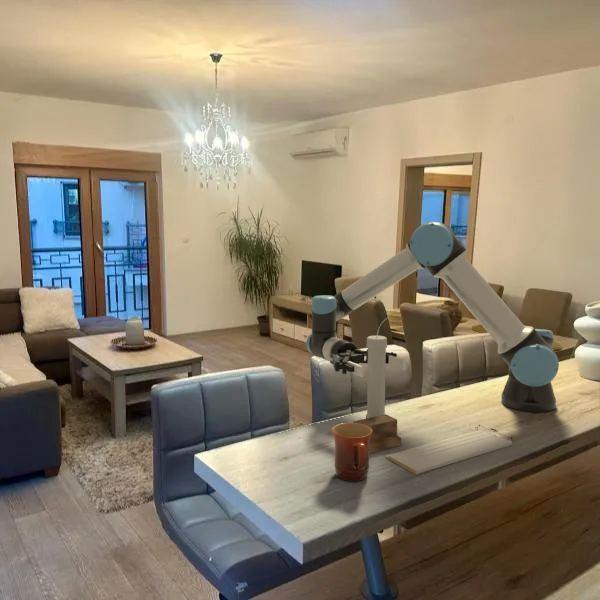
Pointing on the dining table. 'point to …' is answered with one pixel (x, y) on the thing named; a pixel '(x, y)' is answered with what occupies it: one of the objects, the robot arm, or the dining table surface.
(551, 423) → the dining table surface
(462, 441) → the baseboard molding
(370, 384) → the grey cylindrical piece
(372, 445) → the walnut stepped block
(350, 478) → the mug
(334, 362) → the robot arm
